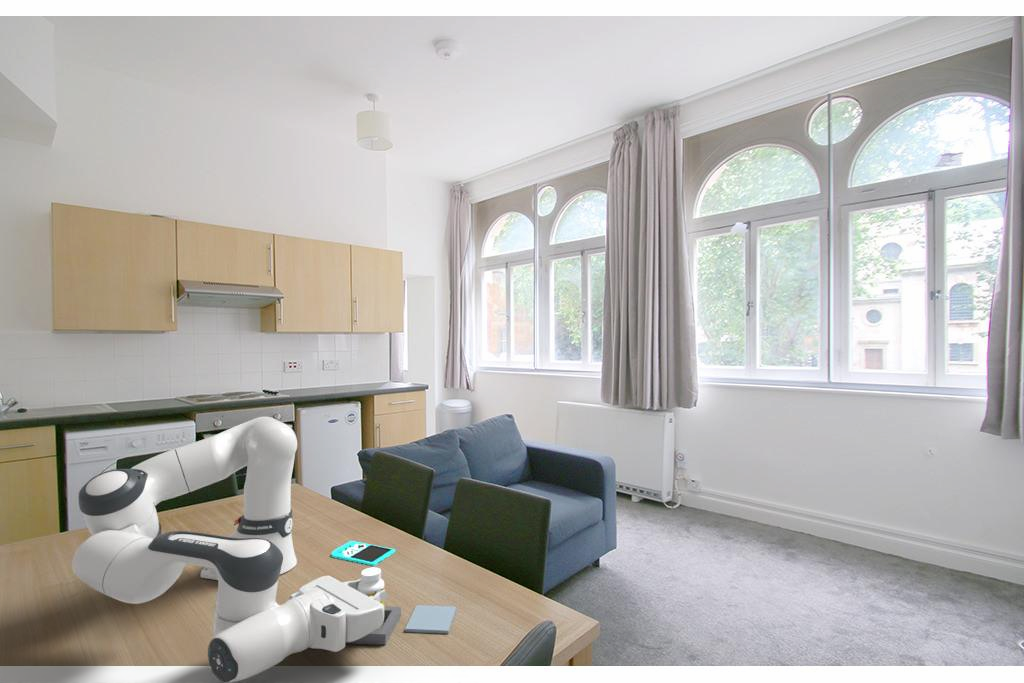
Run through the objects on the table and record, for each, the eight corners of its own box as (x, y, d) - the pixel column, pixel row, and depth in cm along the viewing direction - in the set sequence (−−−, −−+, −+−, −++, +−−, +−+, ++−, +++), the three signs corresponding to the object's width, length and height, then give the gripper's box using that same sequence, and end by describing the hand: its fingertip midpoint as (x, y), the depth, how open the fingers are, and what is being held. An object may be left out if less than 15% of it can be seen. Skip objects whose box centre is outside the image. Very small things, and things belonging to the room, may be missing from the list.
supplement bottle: (389, 614, 101) (389, 567, 101) (374, 628, 96) (374, 579, 96) (367, 609, 103) (367, 563, 103) (351, 623, 98) (351, 575, 98)
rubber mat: (404, 631, 98) (404, 628, 98) (416, 607, 107) (416, 605, 107) (448, 633, 98) (448, 630, 98) (456, 609, 107) (456, 606, 107)
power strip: (245, 638, 96) (245, 624, 96) (273, 611, 106) (273, 598, 106) (385, 644, 94) (385, 630, 94) (400, 616, 104) (401, 603, 104)
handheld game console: (351, 544, 143) (351, 539, 143) (396, 553, 137) (396, 548, 137) (327, 558, 134) (327, 553, 134) (374, 568, 128) (374, 563, 128)
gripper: (283, 615, 96) (345, 587, 107) (342, 656, 83) (406, 620, 94) (283, 583, 96) (345, 558, 107) (343, 619, 83) (406, 587, 94)
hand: (374, 587), depth 100 cm, fingers closed on supplement bottle, 5 cm apart
